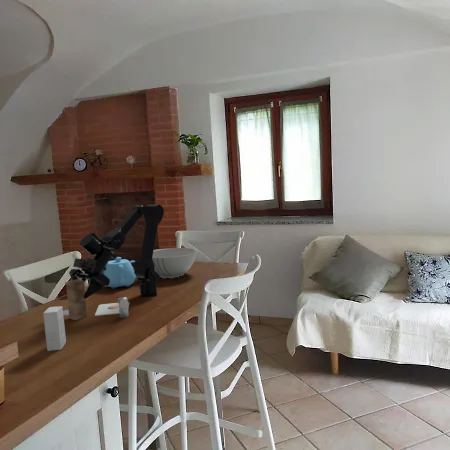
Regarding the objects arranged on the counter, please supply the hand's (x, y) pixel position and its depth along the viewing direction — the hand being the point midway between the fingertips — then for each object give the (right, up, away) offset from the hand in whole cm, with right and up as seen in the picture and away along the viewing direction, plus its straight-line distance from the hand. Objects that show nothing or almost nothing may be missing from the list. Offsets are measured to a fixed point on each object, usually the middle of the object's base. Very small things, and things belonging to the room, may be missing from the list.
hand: (76, 296), depth 164 cm
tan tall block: (0, -8, +1) cm, 8 cm away
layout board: (+5, -7, +8) cm, 12 cm away
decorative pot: (+5, -3, +48) cm, 48 cm away
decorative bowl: (+28, 0, +62) cm, 68 cm away
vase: (-11, -5, +35) cm, 37 cm away
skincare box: (+3, -11, -27) cm, 29 cm away
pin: (+18, -7, -1) cm, 19 cm away
